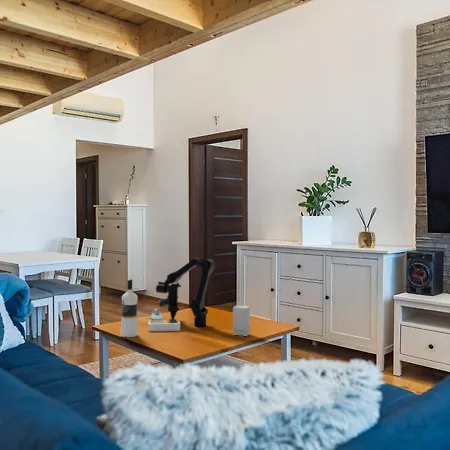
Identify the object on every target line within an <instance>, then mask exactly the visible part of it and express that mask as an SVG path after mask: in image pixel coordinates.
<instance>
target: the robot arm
mask: <svg viewBox="0 0 450 450" xmlns="http://www.w3.org/2000/svg"><path fill="white" fill-rule="evenodd" d="M196 266H197V267H199V268H201V277H200V281H199V285H198V290H197V292H196V293H197V294H196V297H195V298H192V299H191V304H190V310H191V312H192V315H193V316H194V317H193V324H194V326H195V327H197V328H198V327H200V328H201V327H204V328H205V327H207V315H208V314H209V310H208V309H207V308H206V307H205V306H206V302H205V301H206V300H205V296H206V292H207V288H208V285H209V282H210V281H209V280H210V278H211V275H212V273H213V272H214V269H215V267H216V262H215V260H214V259H212V258H211V259H205V258H199V257H194V258H192V259H191V260H190V261H188V262H187V263H186V264H185V265H183V266H182V267H180V268H179V269H178V270H176V271H173V272H171V273H169V274H167V276H166V279H165V281H158V282H157V283H156V284H157V285H156V287H155V291H156V293H157V294H168V295H167V297H166V298H163V299H160V300H158V305H159V307H160V308H162V307H164V306H167V311H168V312H169V315H170V317H171V318H170V319H175V317H176V315H177V314H178V312H179V310H180V309H179V306H178V305H179V304H178V303H179V302H178V301H179V300H178V299H179V296H178V295H179V294H178V293H179V288H181V287H182V285H181V284H180V283H179V281H180V280H181V279H182V278H183V276H184V275H186V274H187V273H188V272H190V271H191V270H192V269H194V268H195V267H196Z"/></svg>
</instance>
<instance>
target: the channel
mask: <svg viewBox="0 0 450 450" xmlns="http://www.w3.org/2000/svg"><path fill="white" fill-rule="evenodd" d="M180 321H181V320H177V322H176V323H168V320H155V321H151V320H148V327H147V328H148V329H147V330H148V331H147V332H173V331H174V332H176V331H177V332H178V331H179V332H180V331H181V322H180Z"/></svg>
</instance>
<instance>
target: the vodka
mask: <svg viewBox="0 0 450 450" xmlns="http://www.w3.org/2000/svg"><path fill="white" fill-rule="evenodd" d="M126 285H127V286H126V287H127V290H126V292H125V293H124V294H122V296H121V317H120V319H121V323H120V324H121V325H120V331H119V333H120V334H119V335H120V336H121V337H122V338H125V337H127V338H129V339H130V337H131V338H135V337H138V334H139V330H138V303H139V302H138V299H139V298H138V297H139V296H138V295H137V294H136V293H135V292H133V279H127V284H126Z"/></svg>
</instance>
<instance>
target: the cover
mask: <svg viewBox="0 0 450 450" xmlns="http://www.w3.org/2000/svg"><path fill="white" fill-rule="evenodd" d="M159 310H160V309H159V308H154V313H151V315H150V316H151V317H149V318H148V320H150V321H163V314H162V313H159V312H160V311H159Z"/></svg>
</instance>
